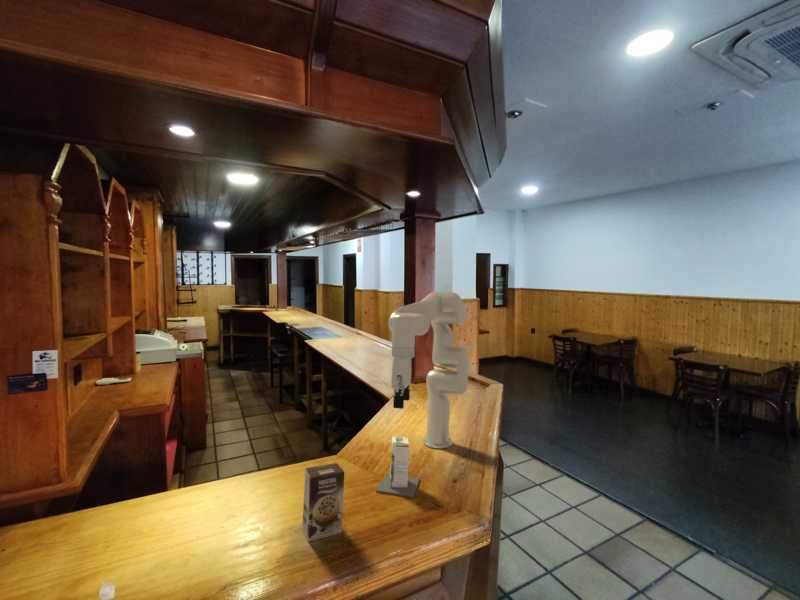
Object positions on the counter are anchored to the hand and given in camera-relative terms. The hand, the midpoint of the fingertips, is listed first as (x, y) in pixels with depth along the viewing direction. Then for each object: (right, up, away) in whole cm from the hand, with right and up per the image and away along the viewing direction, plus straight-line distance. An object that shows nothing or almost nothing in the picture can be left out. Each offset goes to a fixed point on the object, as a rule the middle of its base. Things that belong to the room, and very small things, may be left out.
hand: (401, 403), depth 124 cm
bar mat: (-1, -27, 0) cm, 27 cm away
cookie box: (-21, -26, -26) cm, 42 cm away
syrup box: (-1, -27, 0) cm, 27 cm away
